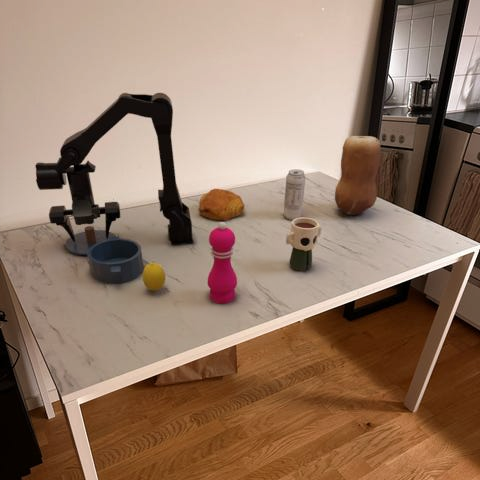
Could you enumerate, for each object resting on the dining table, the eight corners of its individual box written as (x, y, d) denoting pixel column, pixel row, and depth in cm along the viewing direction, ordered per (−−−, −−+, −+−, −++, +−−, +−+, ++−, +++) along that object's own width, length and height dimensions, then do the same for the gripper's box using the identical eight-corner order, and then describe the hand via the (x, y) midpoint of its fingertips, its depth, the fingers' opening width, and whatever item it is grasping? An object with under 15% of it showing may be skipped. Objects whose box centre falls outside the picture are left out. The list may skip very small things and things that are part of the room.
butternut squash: (346, 201, 162) (359, 127, 147) (380, 213, 155) (397, 136, 140) (323, 212, 154) (334, 136, 139) (357, 225, 147) (373, 146, 132)
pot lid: (117, 231, 141) (114, 215, 138) (118, 254, 130) (115, 237, 126) (67, 235, 138) (63, 219, 135) (64, 259, 127) (60, 242, 123)
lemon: (162, 298, 113) (159, 270, 108) (141, 295, 114) (137, 267, 109) (169, 286, 117) (167, 258, 112) (148, 283, 118) (145, 256, 113)
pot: (141, 250, 131) (138, 232, 128) (145, 286, 117) (143, 266, 113) (92, 255, 129) (88, 236, 125) (90, 292, 114) (86, 272, 111)
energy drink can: (304, 215, 152) (309, 171, 143) (296, 222, 148) (300, 176, 139) (288, 211, 155) (292, 167, 146) (279, 217, 151) (283, 172, 142)
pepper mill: (207, 288, 116) (205, 215, 104) (235, 288, 117) (237, 215, 105) (208, 305, 111) (206, 230, 98) (237, 304, 111) (239, 229, 99)
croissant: (215, 205, 162) (213, 183, 158) (251, 211, 154) (250, 187, 150) (188, 218, 153) (185, 194, 149) (225, 225, 144) (223, 200, 140)
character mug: (291, 277, 122) (295, 232, 114) (276, 265, 126) (280, 221, 119) (324, 267, 126) (330, 224, 118) (309, 256, 131) (314, 213, 123)
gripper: (40, 202, 115) (54, 256, 125) (116, 196, 119) (124, 250, 128) (45, 185, 124) (58, 237, 133) (115, 181, 127) (123, 232, 137)
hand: (91, 239), depth 133 cm, fingers open, 9 cm apart
